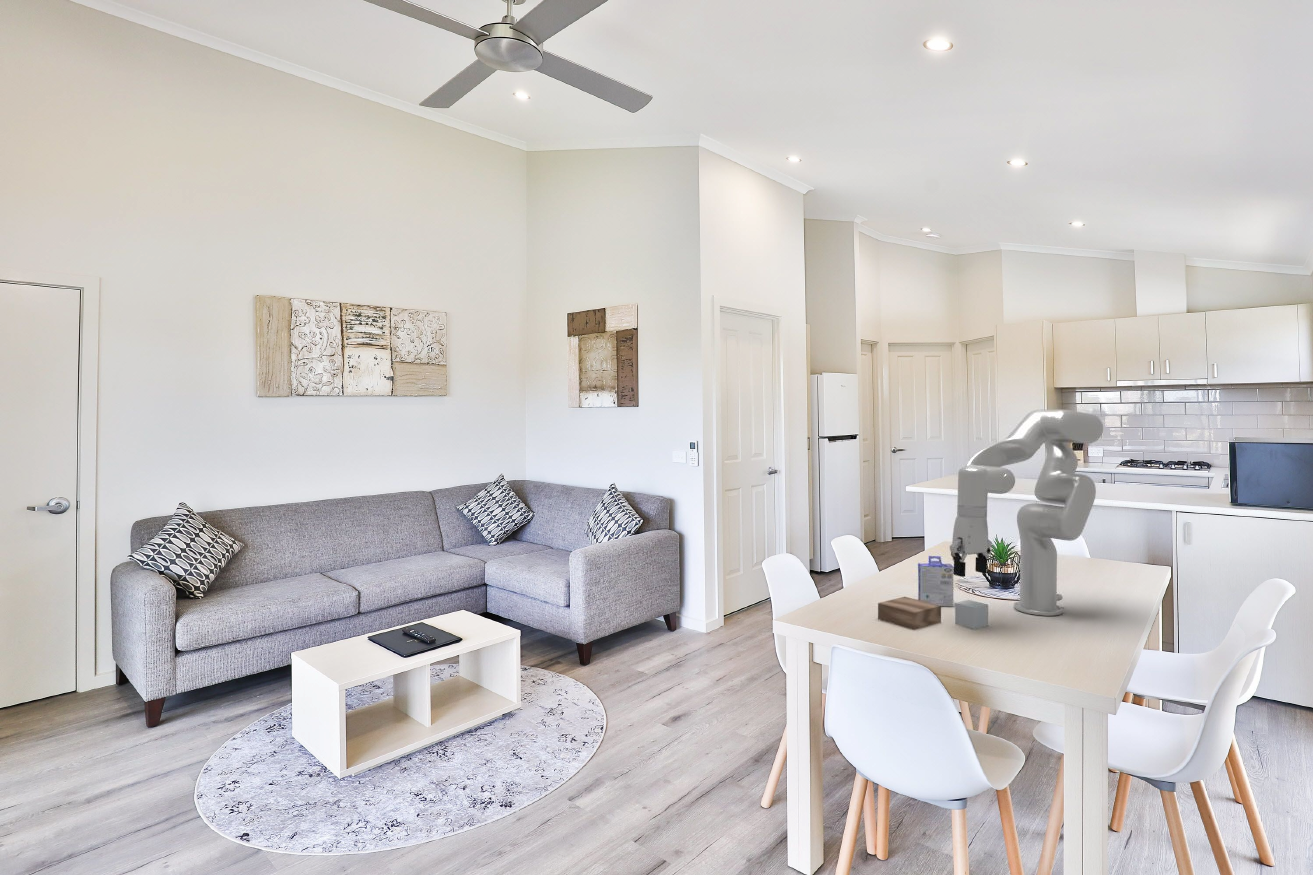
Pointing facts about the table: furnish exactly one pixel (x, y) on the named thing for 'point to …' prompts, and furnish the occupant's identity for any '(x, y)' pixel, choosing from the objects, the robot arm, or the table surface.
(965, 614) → the grey block
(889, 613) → the walnut block
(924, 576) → the ink cartridge box
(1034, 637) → the table surface
